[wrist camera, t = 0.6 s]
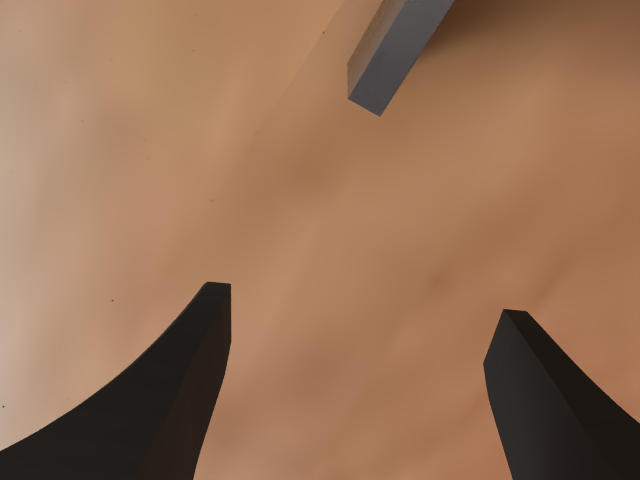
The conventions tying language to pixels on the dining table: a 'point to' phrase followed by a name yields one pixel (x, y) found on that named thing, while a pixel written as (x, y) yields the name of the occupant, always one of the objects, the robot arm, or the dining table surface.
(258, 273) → the dining table surface
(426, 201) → the dining table surface
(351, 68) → the pair of rectangular slabs
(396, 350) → the dining table surface
